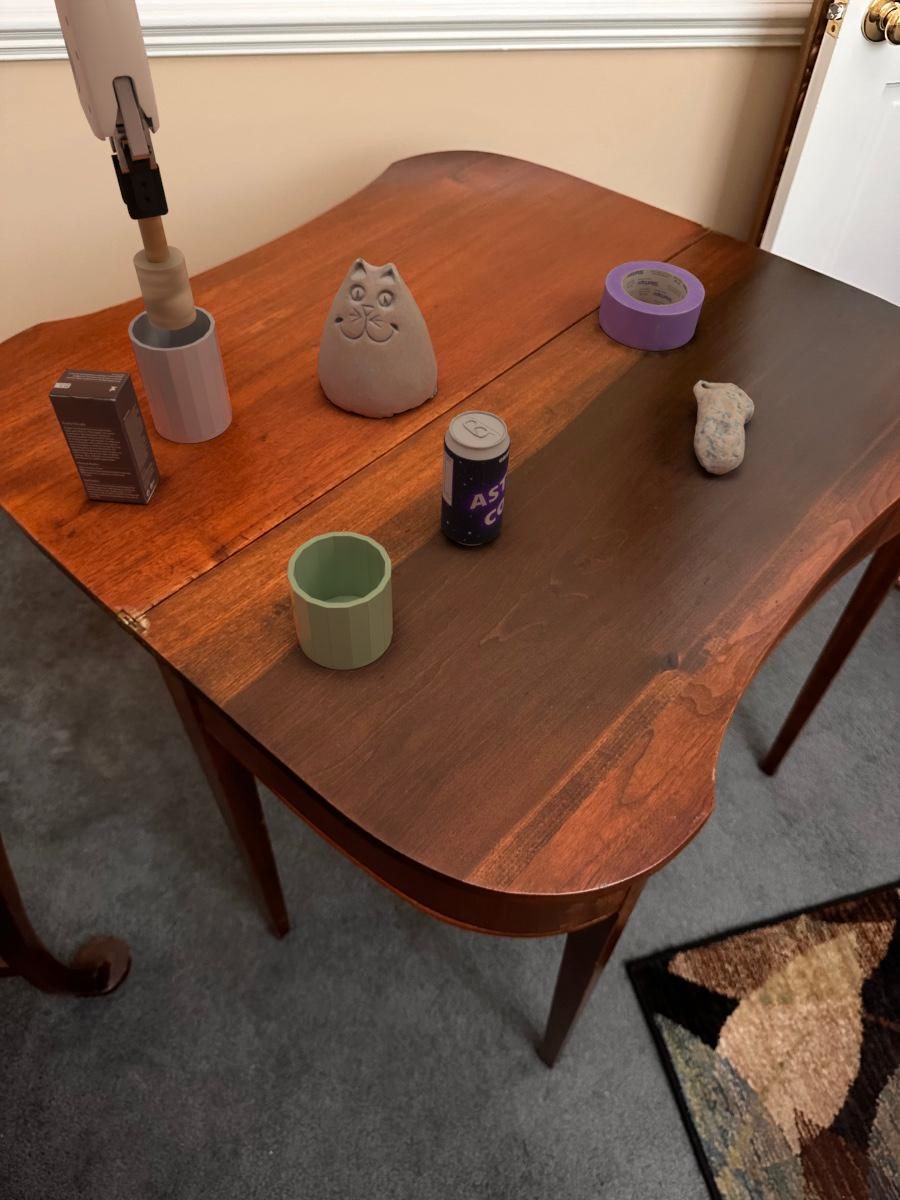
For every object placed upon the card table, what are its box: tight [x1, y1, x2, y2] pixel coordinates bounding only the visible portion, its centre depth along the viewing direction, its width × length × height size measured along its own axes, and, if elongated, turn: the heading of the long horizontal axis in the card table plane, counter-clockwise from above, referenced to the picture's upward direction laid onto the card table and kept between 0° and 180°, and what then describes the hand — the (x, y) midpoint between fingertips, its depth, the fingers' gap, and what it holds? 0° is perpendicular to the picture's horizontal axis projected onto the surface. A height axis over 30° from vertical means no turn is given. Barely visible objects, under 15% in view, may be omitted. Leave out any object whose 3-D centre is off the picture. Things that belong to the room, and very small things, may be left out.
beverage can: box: [440, 410, 511, 546], centre depth 77 cm, size 6×6×12 cm
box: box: [47, 368, 161, 505], centre depth 80 cm, size 6×4×12 cm
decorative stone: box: [692, 380, 755, 475], centre depth 90 cm, size 13×7×5 cm, turn 171°
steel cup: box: [127, 305, 233, 444], centre depth 87 cm, size 8×8×11 cm
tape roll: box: [598, 260, 706, 352], centre depth 104 cm, size 12×12×5 cm
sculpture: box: [317, 257, 439, 419], centre depth 90 cm, size 13×12×15 cm
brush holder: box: [286, 531, 394, 671], centre depth 71 cm, size 8×8×8 cm
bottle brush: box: [122, 140, 197, 330], centre depth 76 cm, size 4×4×16 cm
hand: (145, 207), depth 74 cm, fingers closed on bottle brush, 2 cm apart
